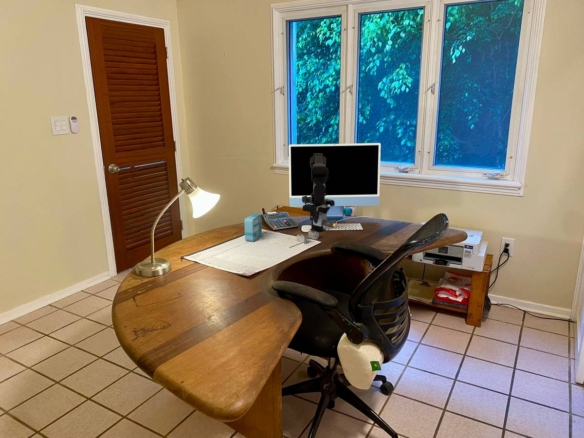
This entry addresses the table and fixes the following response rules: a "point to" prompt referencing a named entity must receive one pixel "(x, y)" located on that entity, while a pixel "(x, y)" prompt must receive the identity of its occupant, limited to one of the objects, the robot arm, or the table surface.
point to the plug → (324, 221)
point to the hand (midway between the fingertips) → (318, 222)
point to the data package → (253, 227)
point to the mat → (285, 242)
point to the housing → (311, 234)
